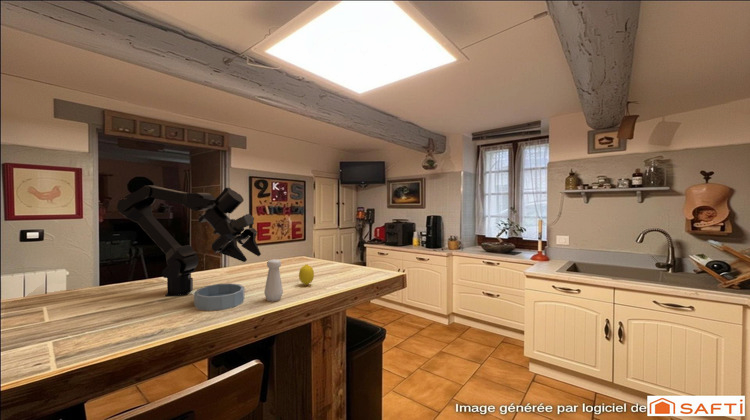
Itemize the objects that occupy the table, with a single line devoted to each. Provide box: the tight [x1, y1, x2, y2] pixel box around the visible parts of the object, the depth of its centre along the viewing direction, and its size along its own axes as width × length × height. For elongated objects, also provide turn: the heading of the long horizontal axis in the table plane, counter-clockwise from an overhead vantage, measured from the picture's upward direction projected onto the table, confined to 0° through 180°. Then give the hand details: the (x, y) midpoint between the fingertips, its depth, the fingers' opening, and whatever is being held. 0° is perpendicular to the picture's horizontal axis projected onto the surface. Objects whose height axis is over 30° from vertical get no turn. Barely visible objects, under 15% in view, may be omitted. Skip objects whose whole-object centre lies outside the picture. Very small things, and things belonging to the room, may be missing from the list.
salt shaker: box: [264, 258, 284, 302], centre depth 103 cm, size 6×6×13 cm
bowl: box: [193, 282, 245, 312], centre depth 99 cm, size 14×14×4 cm
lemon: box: [298, 263, 315, 286], centre depth 119 cm, size 6×6×8 cm
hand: (253, 258), depth 103 cm, fingers open, 9 cm apart
